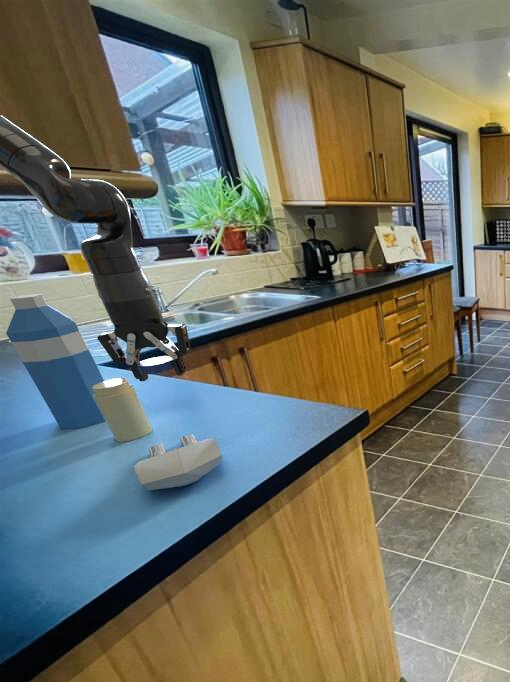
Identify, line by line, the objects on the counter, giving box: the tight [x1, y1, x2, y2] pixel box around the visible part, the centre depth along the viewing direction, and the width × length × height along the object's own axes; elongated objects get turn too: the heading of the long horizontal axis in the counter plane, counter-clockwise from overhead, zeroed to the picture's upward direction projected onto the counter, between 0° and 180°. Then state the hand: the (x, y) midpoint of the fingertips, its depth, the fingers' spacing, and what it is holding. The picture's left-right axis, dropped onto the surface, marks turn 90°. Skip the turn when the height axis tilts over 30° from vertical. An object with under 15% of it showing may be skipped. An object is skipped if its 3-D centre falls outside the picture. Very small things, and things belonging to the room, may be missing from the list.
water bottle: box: [5, 293, 106, 430], centre depth 77 cm, size 9×9×25 cm
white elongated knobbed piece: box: [133, 433, 223, 491], centre depth 64 cm, size 10×20×5 cm, turn 45°
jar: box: [92, 377, 154, 443], centre depth 73 cm, size 5×5×10 cm
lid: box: [137, 355, 174, 375], centre depth 82 cm, size 6×6×2 cm
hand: (163, 376), depth 83 cm, fingers closed on lid, 5 cm apart
